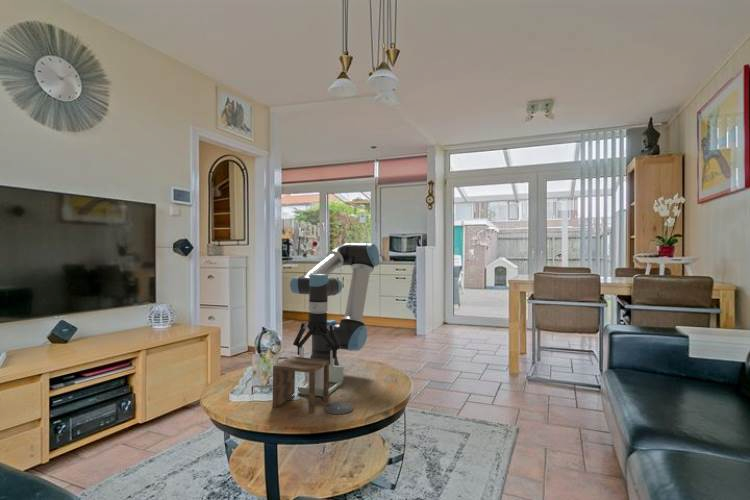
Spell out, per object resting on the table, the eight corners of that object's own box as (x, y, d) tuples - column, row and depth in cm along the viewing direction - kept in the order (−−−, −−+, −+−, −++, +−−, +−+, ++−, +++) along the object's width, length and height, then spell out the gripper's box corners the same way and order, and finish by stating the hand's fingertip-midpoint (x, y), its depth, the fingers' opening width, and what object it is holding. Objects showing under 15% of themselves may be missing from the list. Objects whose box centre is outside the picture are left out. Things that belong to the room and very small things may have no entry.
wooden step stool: (291, 394, 164) (291, 356, 164) (328, 399, 159) (329, 360, 159) (272, 407, 150) (273, 365, 150) (312, 413, 145) (313, 369, 146)
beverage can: (323, 396, 163) (323, 365, 163) (304, 393, 165) (304, 363, 165) (330, 389, 171) (331, 360, 171) (312, 387, 173) (313, 358, 173)
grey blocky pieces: (318, 378, 184) (318, 363, 184) (344, 381, 180) (344, 365, 180) (297, 393, 165) (298, 375, 165) (325, 396, 161) (326, 378, 161)
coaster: (330, 401, 157) (330, 400, 157) (357, 405, 154) (357, 403, 154) (318, 412, 146) (318, 410, 146) (347, 416, 143) (347, 414, 143)
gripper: (285, 311, 168) (284, 364, 167) (343, 315, 160) (342, 370, 160) (294, 309, 175) (293, 359, 174) (350, 312, 168) (348, 365, 167)
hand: (316, 364), depth 167 cm, fingers open, 13 cm apart
